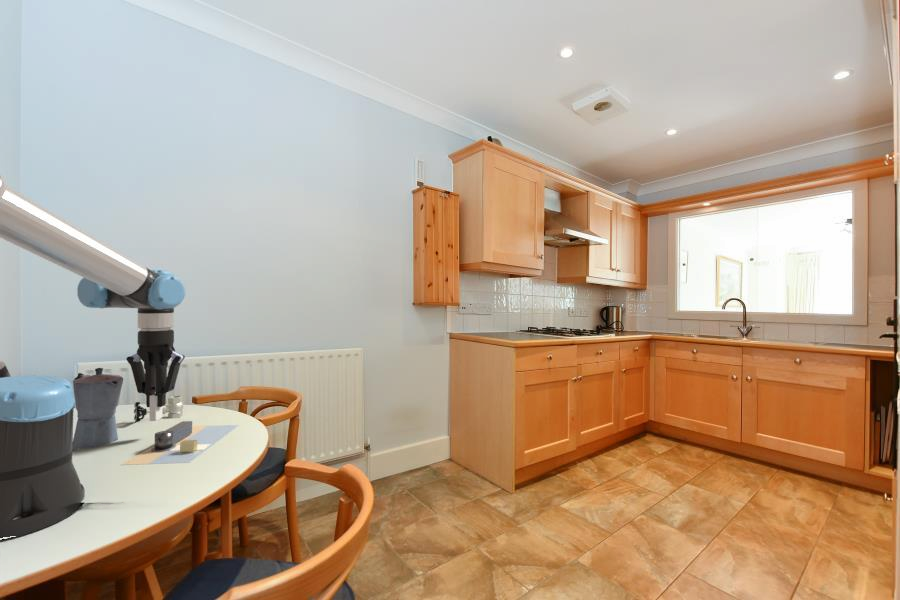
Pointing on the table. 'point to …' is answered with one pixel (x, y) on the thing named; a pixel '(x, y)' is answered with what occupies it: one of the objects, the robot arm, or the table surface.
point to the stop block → (188, 446)
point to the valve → (173, 408)
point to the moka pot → (96, 409)
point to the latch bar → (172, 435)
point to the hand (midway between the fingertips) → (156, 419)
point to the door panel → (202, 434)
